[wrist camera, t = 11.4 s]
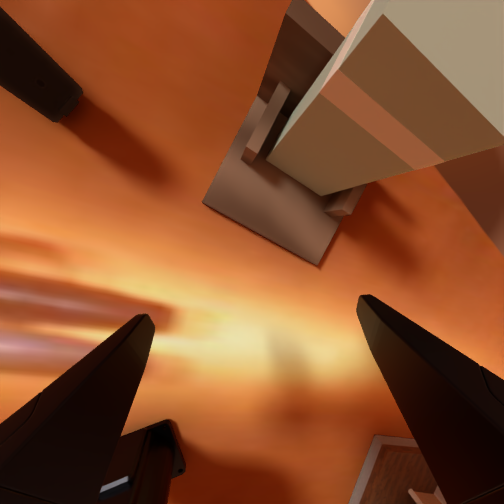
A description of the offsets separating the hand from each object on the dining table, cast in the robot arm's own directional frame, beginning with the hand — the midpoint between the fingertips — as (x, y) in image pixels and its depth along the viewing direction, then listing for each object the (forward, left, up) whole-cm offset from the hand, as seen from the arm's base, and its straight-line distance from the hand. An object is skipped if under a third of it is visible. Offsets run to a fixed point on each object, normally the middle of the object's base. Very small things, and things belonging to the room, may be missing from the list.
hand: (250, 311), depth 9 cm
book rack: (+6, -8, -12) cm, 16 cm away
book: (+8, -9, -11) cm, 16 cm away
